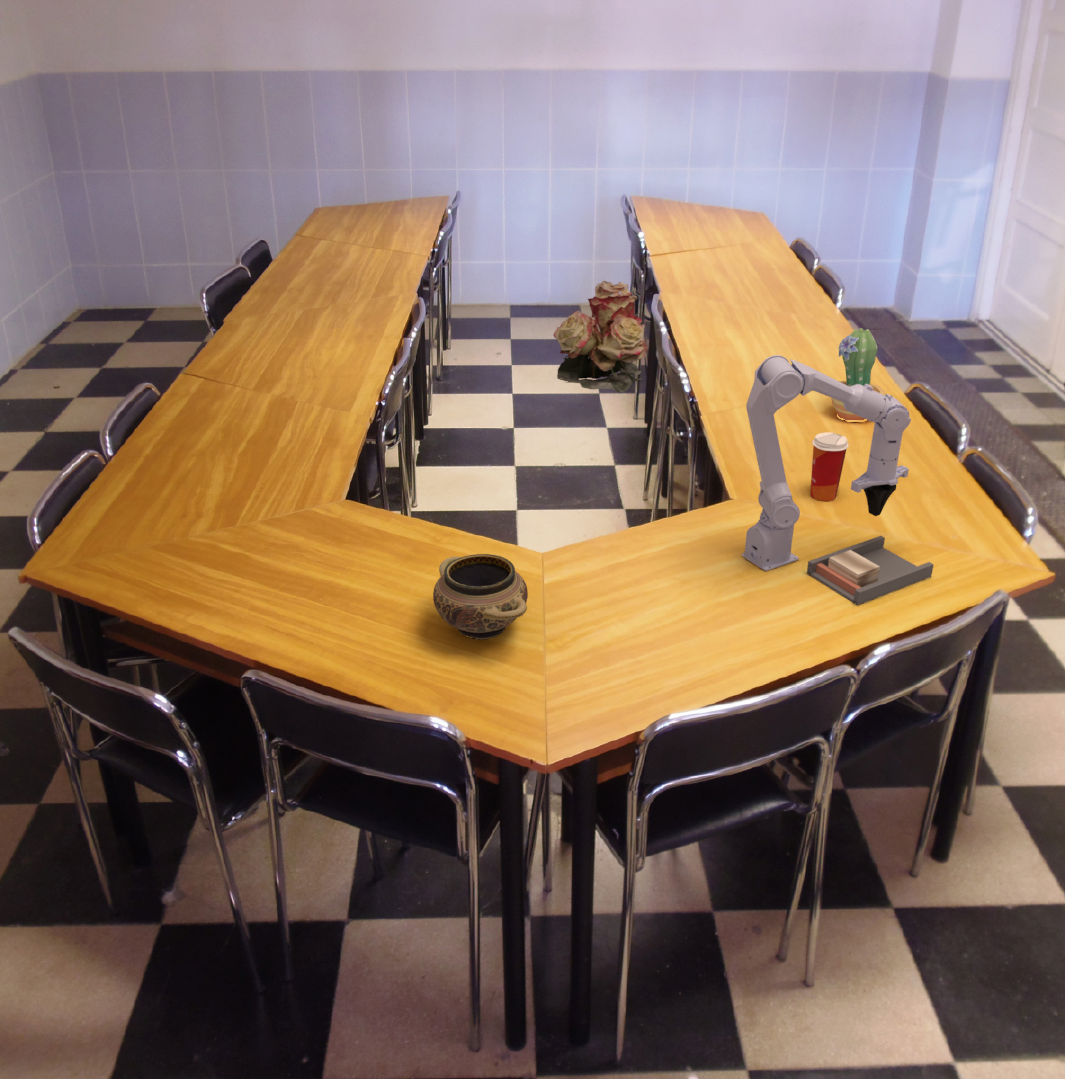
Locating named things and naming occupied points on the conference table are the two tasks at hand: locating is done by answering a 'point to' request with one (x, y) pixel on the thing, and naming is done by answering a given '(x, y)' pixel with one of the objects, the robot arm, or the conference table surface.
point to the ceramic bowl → (480, 594)
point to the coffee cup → (827, 465)
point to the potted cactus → (857, 365)
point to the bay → (890, 576)
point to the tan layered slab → (854, 568)
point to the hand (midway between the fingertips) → (874, 513)
